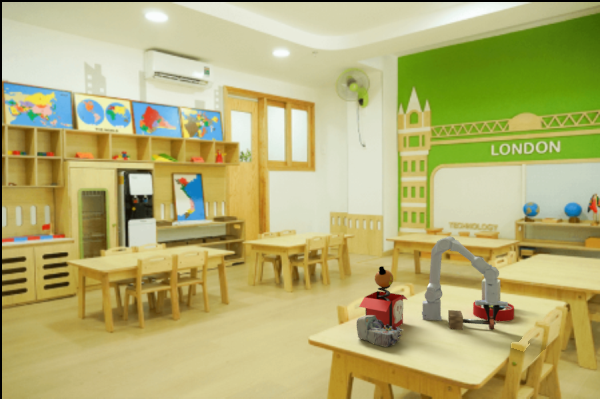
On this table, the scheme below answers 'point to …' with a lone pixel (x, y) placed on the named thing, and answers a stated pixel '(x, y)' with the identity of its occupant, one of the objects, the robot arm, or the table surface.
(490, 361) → the table surface
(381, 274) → the jack-in-the-box
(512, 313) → the toy clock
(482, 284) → the supplement box
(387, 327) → the grey lumpy piece
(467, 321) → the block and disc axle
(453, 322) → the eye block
